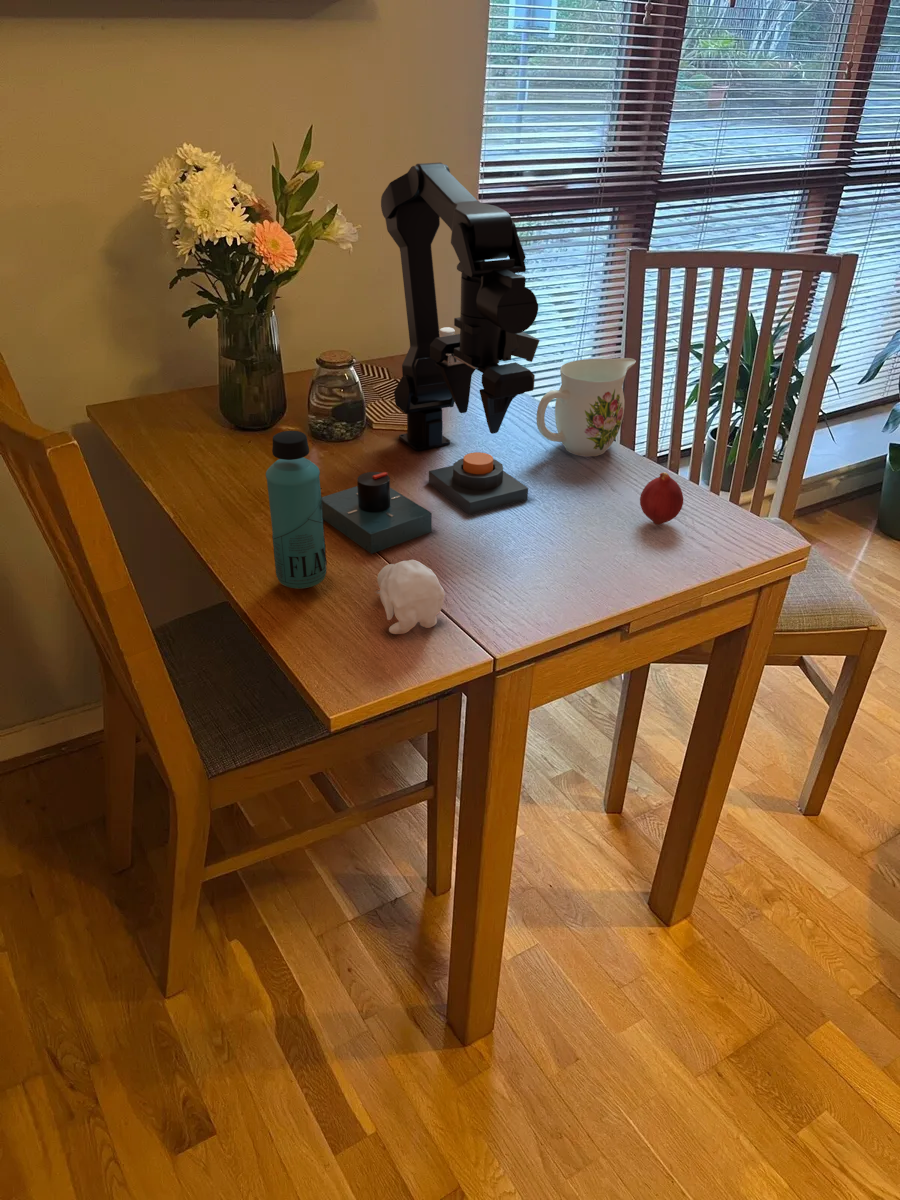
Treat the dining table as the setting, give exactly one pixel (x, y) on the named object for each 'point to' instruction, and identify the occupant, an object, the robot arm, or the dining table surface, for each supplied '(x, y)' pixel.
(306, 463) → the beverage bottle
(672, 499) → the onion
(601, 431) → the pitcher
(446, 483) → the button base
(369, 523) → the dial console
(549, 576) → the dining table surface
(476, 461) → the button
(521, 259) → the robot arm
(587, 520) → the dining table surface
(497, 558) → the dining table surface
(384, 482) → the dial
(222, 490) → the dining table surface
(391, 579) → the white lumpy figure
